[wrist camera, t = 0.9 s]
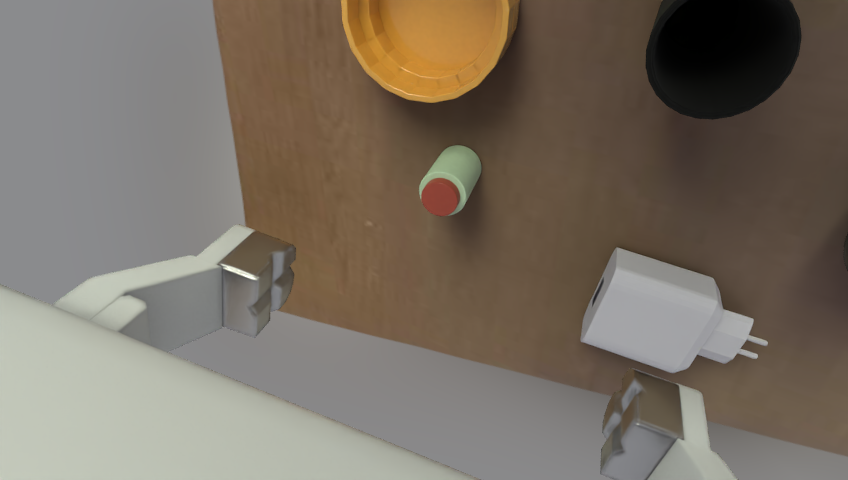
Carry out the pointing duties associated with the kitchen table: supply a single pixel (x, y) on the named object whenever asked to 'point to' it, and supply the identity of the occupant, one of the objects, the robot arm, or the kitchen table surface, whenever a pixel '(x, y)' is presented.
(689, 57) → the cup
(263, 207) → the kitchen table surface
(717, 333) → the charger
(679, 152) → the kitchen table surface
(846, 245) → the alarm clock
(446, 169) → the container
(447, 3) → the bowl
